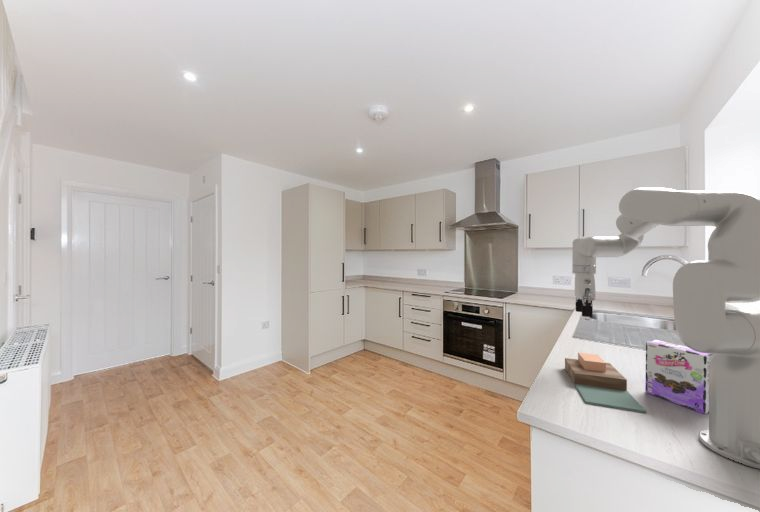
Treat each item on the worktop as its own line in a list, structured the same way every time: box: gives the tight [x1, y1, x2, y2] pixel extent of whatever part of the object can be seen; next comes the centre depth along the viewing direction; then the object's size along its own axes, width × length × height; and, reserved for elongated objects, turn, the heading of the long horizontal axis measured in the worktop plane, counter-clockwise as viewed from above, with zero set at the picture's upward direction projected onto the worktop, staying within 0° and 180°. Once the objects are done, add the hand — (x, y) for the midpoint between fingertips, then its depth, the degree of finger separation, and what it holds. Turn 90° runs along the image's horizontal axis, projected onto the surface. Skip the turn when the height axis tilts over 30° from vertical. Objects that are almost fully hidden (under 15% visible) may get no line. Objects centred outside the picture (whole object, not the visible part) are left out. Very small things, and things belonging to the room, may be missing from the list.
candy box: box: [645, 339, 713, 415], centre depth 86 cm, size 14×6×16 cm, turn 21°
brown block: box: [564, 357, 628, 391], centre depth 101 cm, size 15×14×4 cm
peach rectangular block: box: [577, 352, 607, 372], centre depth 103 cm, size 9×6×3 cm, turn 158°
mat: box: [574, 384, 647, 414], centre depth 88 cm, size 12×14×1 cm
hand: (583, 313), depth 113 cm, fingers open, 9 cm apart
